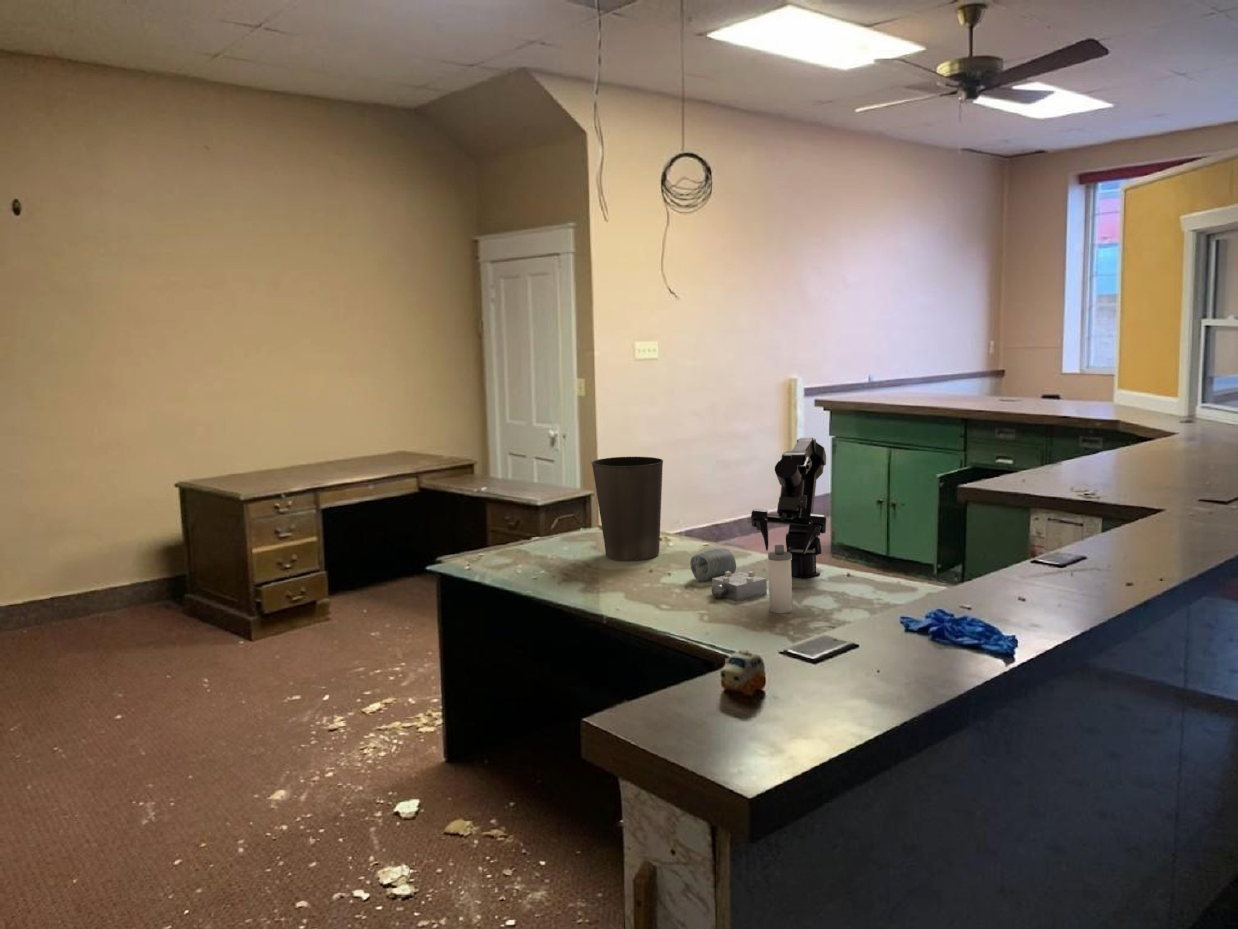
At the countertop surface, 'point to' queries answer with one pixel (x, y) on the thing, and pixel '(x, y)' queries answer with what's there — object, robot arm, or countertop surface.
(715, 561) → the spool
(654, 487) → the waste basket
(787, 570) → the white bottle
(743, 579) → the studded square plate
